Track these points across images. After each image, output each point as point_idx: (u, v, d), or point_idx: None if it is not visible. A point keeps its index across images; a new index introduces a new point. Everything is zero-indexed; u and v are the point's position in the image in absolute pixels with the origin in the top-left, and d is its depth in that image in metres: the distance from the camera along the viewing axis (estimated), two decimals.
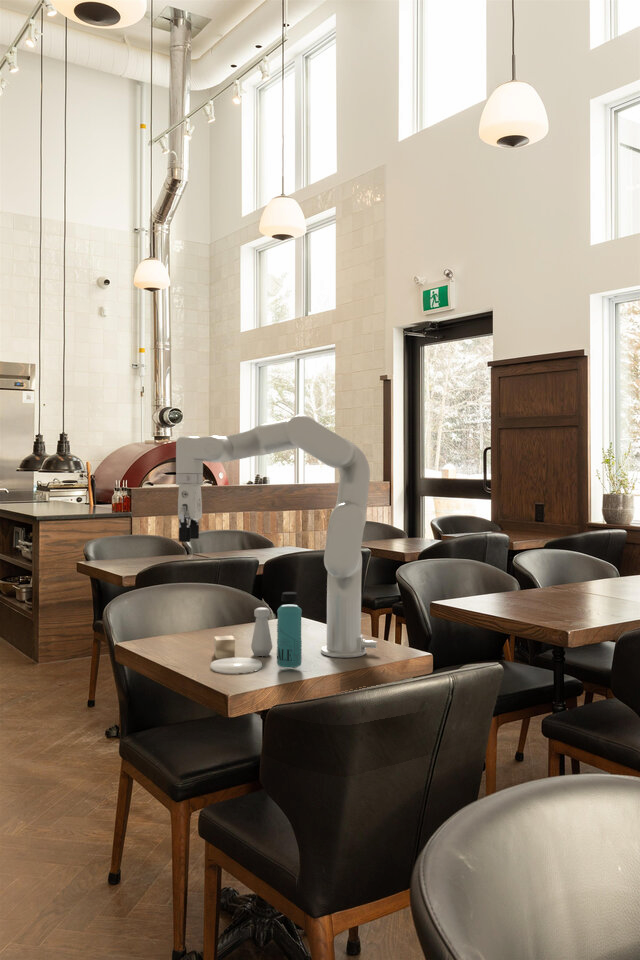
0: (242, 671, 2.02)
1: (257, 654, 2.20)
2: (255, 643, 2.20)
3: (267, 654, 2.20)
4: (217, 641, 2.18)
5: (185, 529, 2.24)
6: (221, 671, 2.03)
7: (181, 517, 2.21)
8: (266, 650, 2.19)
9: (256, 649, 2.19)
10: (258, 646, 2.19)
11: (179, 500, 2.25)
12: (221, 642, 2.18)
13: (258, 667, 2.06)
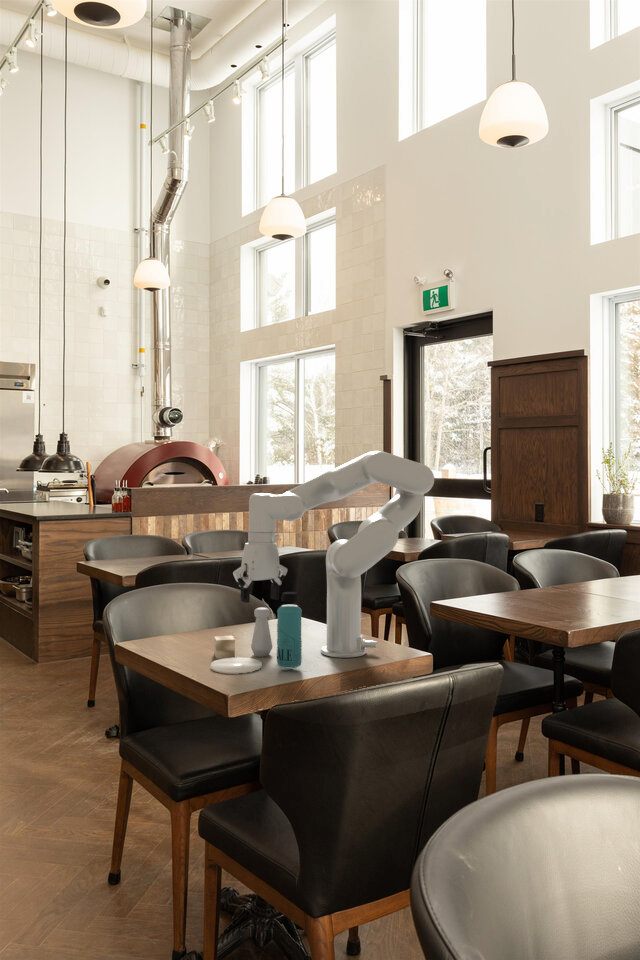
0: (242, 671, 2.02)
1: (257, 654, 2.20)
2: (255, 643, 2.20)
3: (267, 654, 2.20)
4: (217, 641, 2.18)
5: None
6: (221, 671, 2.03)
7: None
8: (266, 650, 2.19)
9: (256, 649, 2.19)
10: (258, 646, 2.19)
11: None
12: (221, 642, 2.18)
13: (258, 667, 2.06)
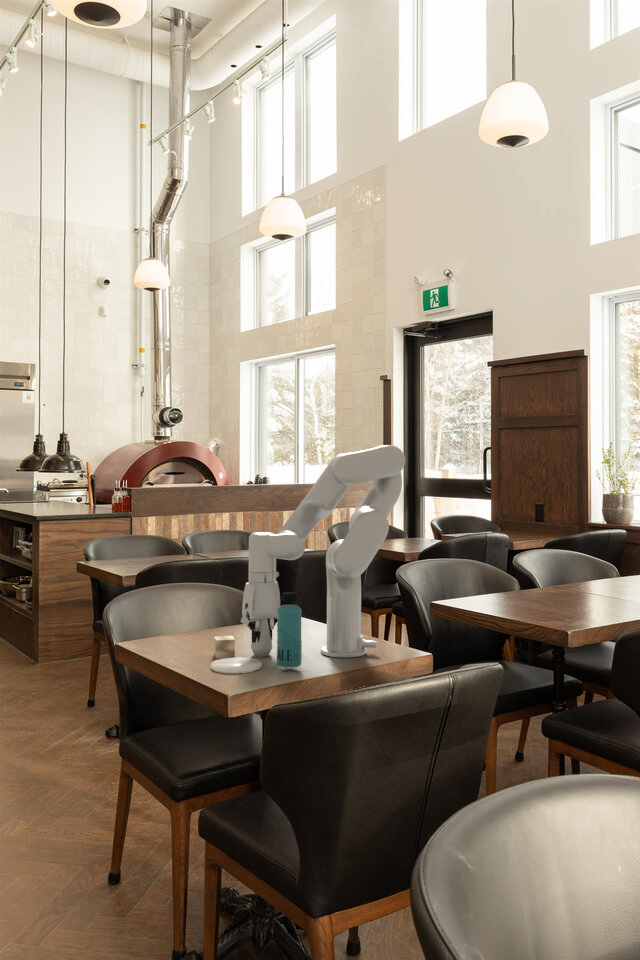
0: (242, 671, 2.02)
1: (257, 654, 2.20)
2: (255, 643, 2.20)
3: (267, 654, 2.20)
4: (217, 641, 2.18)
5: None
6: (221, 671, 2.03)
7: None
8: (266, 650, 2.19)
9: (256, 649, 2.19)
10: (258, 646, 2.19)
11: None
12: (221, 642, 2.18)
13: (258, 667, 2.06)
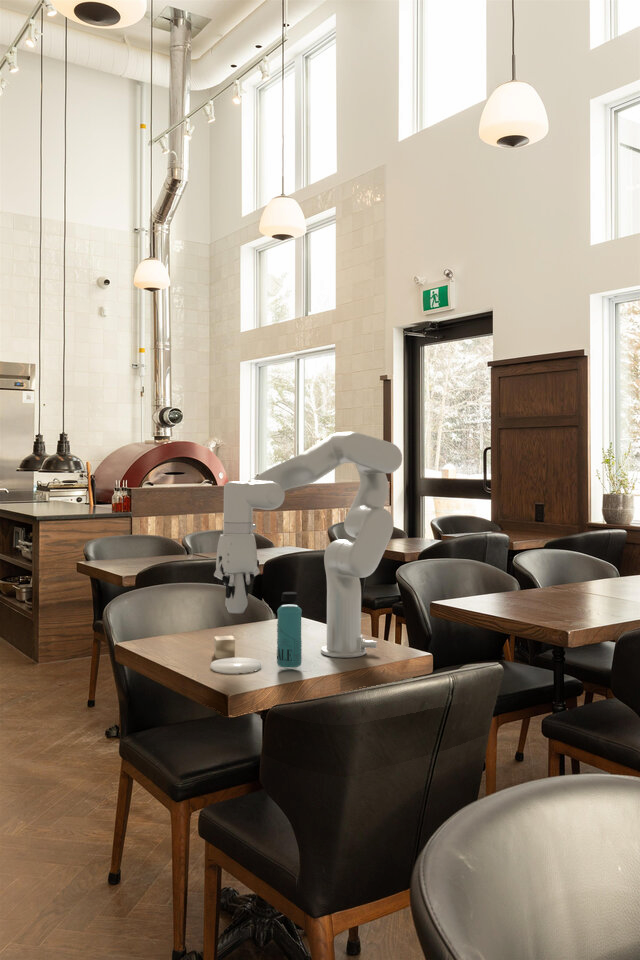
0: (242, 671, 2.02)
1: (231, 610, 2.07)
2: (229, 598, 2.06)
3: (242, 610, 2.07)
4: (217, 641, 2.18)
5: None
6: (221, 671, 2.03)
7: None
8: (240, 606, 2.06)
9: (230, 605, 2.06)
10: (232, 602, 2.06)
11: None
12: (221, 642, 2.18)
13: (258, 667, 2.06)
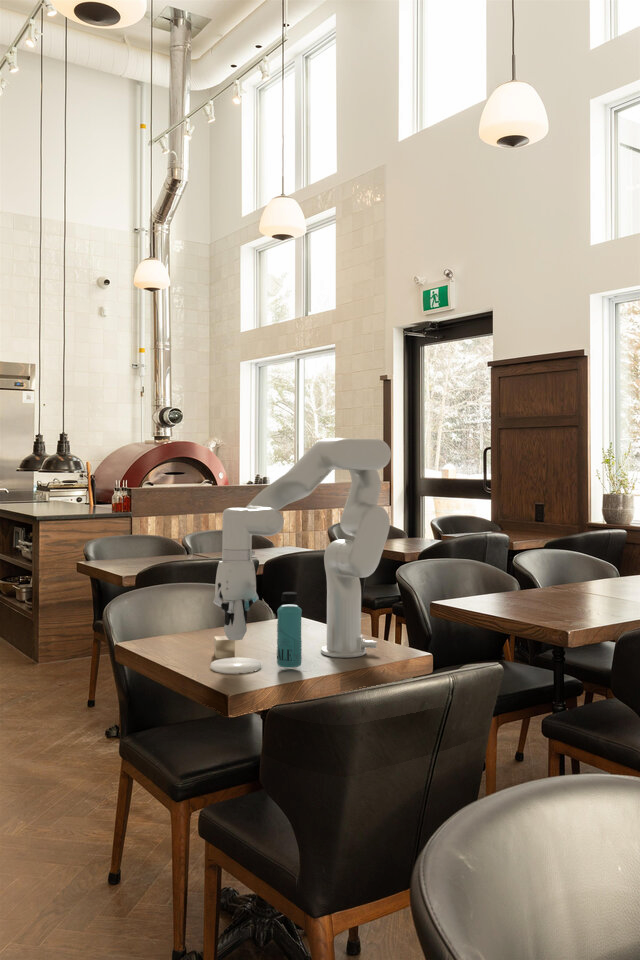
0: (242, 671, 2.02)
1: (230, 637, 2.06)
2: (228, 625, 2.06)
3: (241, 637, 2.07)
4: (217, 641, 2.18)
5: None
6: (221, 671, 2.03)
7: None
8: (240, 633, 2.06)
9: (229, 632, 2.06)
10: (231, 629, 2.06)
11: None
12: (221, 642, 2.18)
13: (258, 667, 2.06)
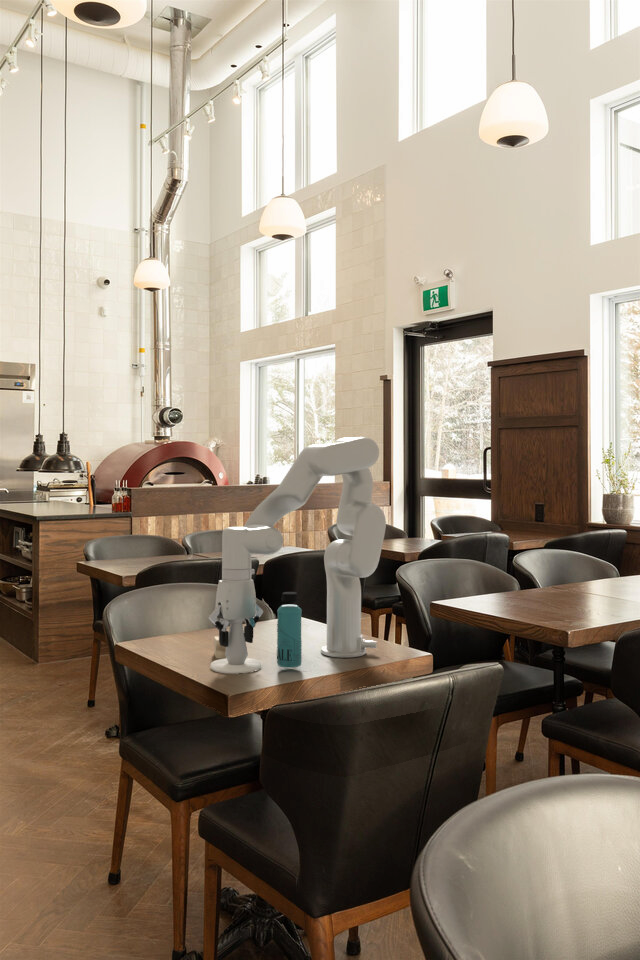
0: (242, 671, 2.02)
1: (231, 662, 2.06)
2: (229, 650, 2.06)
3: (242, 662, 2.07)
4: (217, 641, 2.18)
5: None
6: (221, 671, 2.03)
7: None
8: (241, 658, 2.06)
9: (230, 657, 2.06)
10: (232, 654, 2.06)
11: None
12: None
13: (258, 667, 2.06)
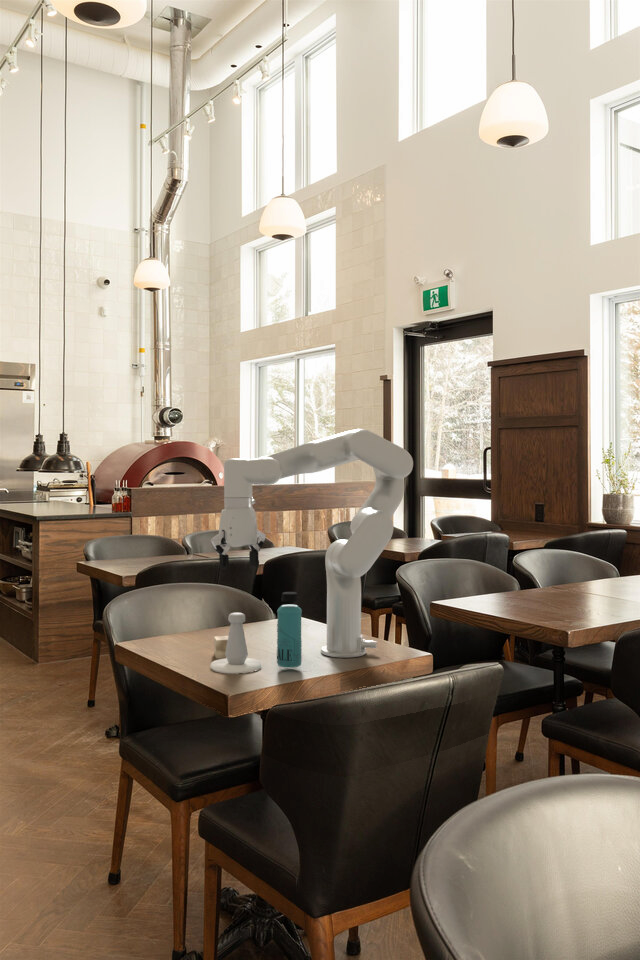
0: (242, 671, 2.02)
1: (231, 662, 2.06)
2: (229, 650, 2.06)
3: (242, 662, 2.07)
4: (217, 641, 2.18)
5: None
6: (221, 671, 2.03)
7: None
8: (241, 658, 2.06)
9: (230, 657, 2.06)
10: (232, 654, 2.06)
11: None
12: (221, 642, 2.18)
13: (258, 667, 2.06)
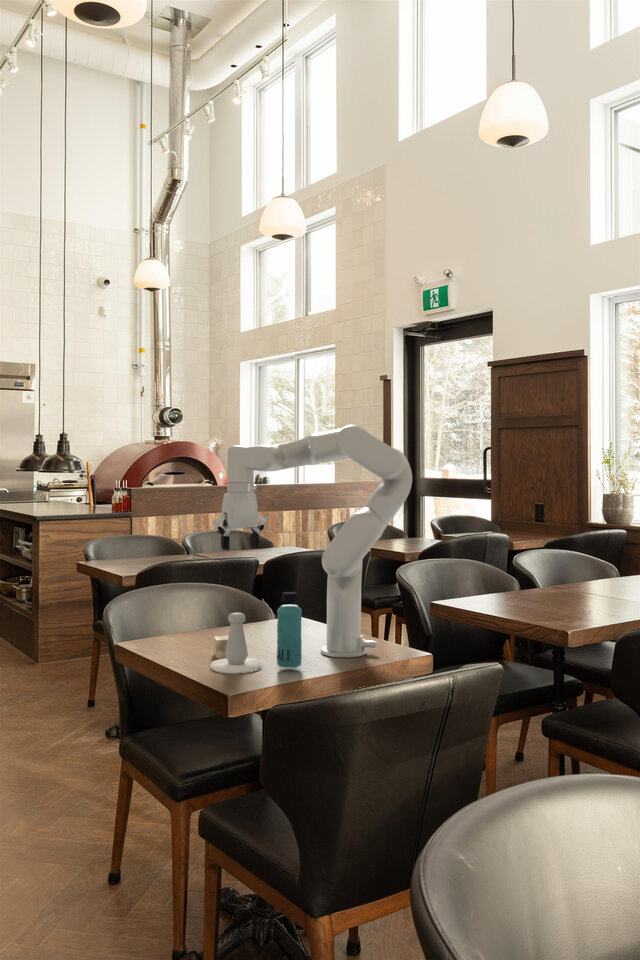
0: (242, 671, 2.02)
1: (231, 662, 2.06)
2: (229, 650, 2.06)
3: (242, 662, 2.07)
4: (217, 641, 2.18)
5: None
6: (221, 671, 2.03)
7: None
8: (241, 658, 2.06)
9: (230, 657, 2.06)
10: (232, 654, 2.06)
11: None
12: (221, 642, 2.18)
13: (258, 667, 2.06)
